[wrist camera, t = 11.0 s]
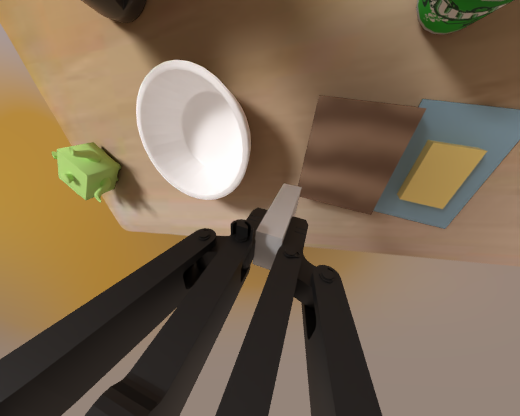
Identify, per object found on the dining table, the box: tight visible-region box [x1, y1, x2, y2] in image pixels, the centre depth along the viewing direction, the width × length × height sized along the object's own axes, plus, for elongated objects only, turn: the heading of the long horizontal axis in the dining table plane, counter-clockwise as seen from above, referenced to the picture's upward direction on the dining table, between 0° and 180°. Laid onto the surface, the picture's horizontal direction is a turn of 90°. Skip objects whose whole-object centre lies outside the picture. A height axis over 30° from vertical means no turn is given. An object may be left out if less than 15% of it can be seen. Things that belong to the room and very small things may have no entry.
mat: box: [373, 99, 520, 229], centre depth 29 cm, size 18×12×1 cm
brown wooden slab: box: [298, 95, 427, 215], centre depth 30 cm, size 16×13×4 cm
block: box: [397, 140, 487, 209], centre depth 28 cm, size 9×6×2 cm, turn 173°
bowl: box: [136, 60, 251, 200], centre depth 35 cm, size 22×22×8 cm
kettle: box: [52, 142, 121, 202], centre depth 51 cm, size 15×14×11 cm
